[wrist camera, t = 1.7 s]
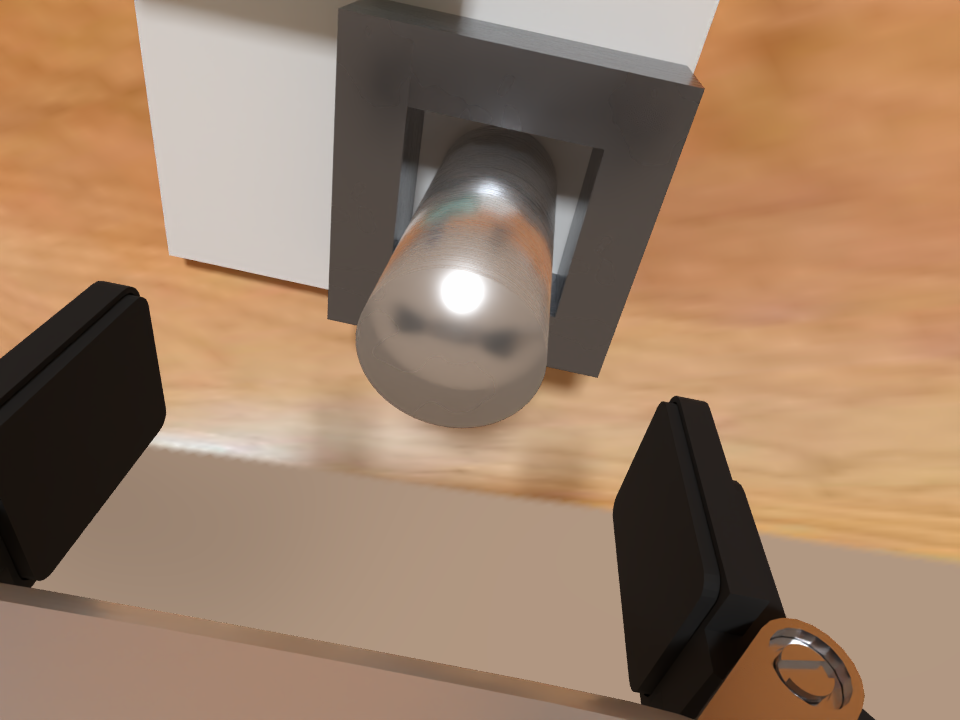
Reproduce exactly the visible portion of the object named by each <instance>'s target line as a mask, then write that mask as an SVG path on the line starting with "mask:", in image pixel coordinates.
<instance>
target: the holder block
mask: <svg viewBox="0 0 960 720" xmlns="http://www.w3.org/2000/svg"><path fill="white" fill-rule="evenodd" d="M704 89H705V88H704V87H703V86H702V85H701V83H700V82H699V81H698V79H697V78H696V77H695V75H694V74H693V73H692V71H691V70H690V69H689V67H688V66H686V65H682V64H677V63H673V62H668V61H663V60H659V59H654V58H650V57H645V56H641V55H636V54H632V53H627V52H622V51H618V50H613V49H609V48H604V47H600V46H595V45H591V44H586V43H582V42H577V41H572V40H568V39H563V38H559V37H554V36H550V35H545V34H541V33H536V32H531V31H527V30H522V29H518V28H513V27H509V26H504V25H500V24H495V23H491V22H486V21H481V20H477V19H472V18H468V17H463V16H459V15H454V14H450V13H445V12H440V11H436V10H431V9H427V8H422V7H418V6H413V5H409V4H404V3H400V2H395V1H390V0H358V1H355V2H353V3H350V4H348V5H345V6H343V7H340V8H338V29H337V58H336V87H335V116H334V145H333V173H332V202H331V231H330V260H329V289H328V318H327V319H330V320H334V321H339V322H343V323H348V324H353V325H357V324H358V321H359V318H360V315H361V313H362V311H363V309H364V307H365V305H366V303H367V301H368V299H369V298H370V296H371V294H372V292H373V290H374V288H375V286H376V285H377V283H378V281H379V279H380V277H381V275H382V273H383V271H384V270H385V268H386V266H387V264H388V262H389V260H390V258H391V256H392V255H393V253H394V251H395V249H396V247H397V245H398V243H399V241H400V240H401V238H402V236H403V234H404V232H405V230H406V228H407V226H408V225H409V223H410V221H411V219H412V215H413V206H414V198H415V189H416V181H417V172H418V164H419V155H420V147H421V139H422V130H423V122H424V113H425V111H429V112H434V113H439V114H443V115H448V116H452V117H457V118H461V119H466V120H471V121H475V122H480V123H484V124H489V125H493V126H498V127H503V128H507V129H512V130H516V131H521V132H525V133H530V134H535V135H539V136H544V137H548V138H553V139H557V140H562V141H566V142H571V143H576V144H580V145H585V146H589V147H593V149H592V153H591V156H590V160H589V164H588V167H587V171H586V174H585V178H584V181H583V185H582V188H581V192H580V195H579V199H578V202H577V206H576V209H575V213H574V216H573V220H572V223H571V227H570V230H569V234H568V237H567V241H566V244H565V248H564V251H563V255H562V258H561V262H560V265H559V269H558V273H557V274H554V273H552V282H551V299H550V316H549V333H548V350H547V366H546V367H551V368H555V369H560V370H565V371H569V372H574V373H578V374H583V375H588V376H592V377H597V378H598V375H599V373H600V370H601V367H602V364H603V362H604V359H605V356H606V354H607V351H608V348H609V346H610V343H611V340H612V338H613V335H614V332H615V329H616V327H617V324H618V321H619V319H620V316H621V313H622V311H623V308H624V305H625V302H626V300H627V297H628V294H629V292H630V289H631V286H632V284H633V281H634V278H635V276H636V273H637V270H638V267H639V265H640V262H641V259H642V257H643V254H644V251H645V249H646V246H647V243H648V240H649V238H650V235H651V232H652V230H653V227H654V224H655V222H656V219H657V216H658V214H659V211H660V208H661V205H662V203H663V200H664V197H665V195H666V192H667V189H668V187H669V184H670V181H671V178H672V176H673V173H674V170H675V168H676V165H677V162H678V160H679V157H680V154H681V151H682V149H683V146H684V143H685V141H686V138H687V135H688V133H689V130H690V127H691V125H692V122H693V119H694V116H695V114H696V111H697V108H698V106H699V103H700V100H701V98H702V95H703V92H704Z"/></svg>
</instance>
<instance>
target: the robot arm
mask: <svg viewBox="0 0 960 720" xmlns="http://www.w3.org/2000/svg"><path fill="white" fill-rule="evenodd" d="M165 417H166V406H165V401H164V395H163V389H162V383H161V377H160V371H159V365H158V359H157V353H156V347H155V341H154V335H153V329H152V323H151V317H150V311H149V305H148V302H147V300H146V299H145V298H143V297H140V295H139V292H138V291H137V289H135V288H133V287H130V286H125V285H120V284H115V283H110V282H105V281H97V282H95V283H94V284H92V285H91V286H90V287H88V288H87V289H86V290H85V291H84V292H82V293H81V294H80V295H79V296H77V297H76V298H75V299H74V300H72V301H71V302H70V303H69V304H67V305H66V306H65V307H64V308H62V309H61V310H60V311H59V312H58V313H56V314H55V315H54V316H53V317H51V318H50V319H49V320H48V321H46V322H45V323H44V324H43V325H41V326H40V327H39V328H38V329H36V330H35V331H34V332H33V333H32V334H30V335H29V336H28V337H27V338H25V339H24V340H23V341H22V342H20V343H19V344H18V345H17V346H15V347H14V348H13V349H12V350H10V351H9V352H8V353H7V354H6V355H4V356H3V357H2V358H1V359H0V720H875V719H874V718H873V717H871V716H870V715H869V714H868V713H867V712H866V711H865V710H863V709H862V707H863V702H864V696H865V695H864V689H863V684H862V680H861V678H860V675H859V673H858V671H857V670H856V667H855V665H854V663H853V662H852V661H851V659H850V658H849V657H848V656H847V654H846V653H845V651H844V650H843V649H842V648H841V647H840V646H839V645H838V644H837V643H836V642H835V641H834V640H832V639H831V638H830V637H829V636H828V635H827V634H825V633H823V632H822V631H820V630H819V629H817V628H816V627H814V626H813V625H810V624H808V623H805V622H802V621H800V620H797V619H789V618H786V616H785V613H784V610H783V607H782V603H781V600H780V598H779V594H778V591H777V588H776V586H775V583H774V579H773V576H772V573H771V570H770V567H769V564H768V561H767V558H766V555H765V552H764V549H763V546H762V543H761V540H760V537H759V534H758V531H757V528H756V525H755V522H754V519H753V516H752V513H751V510H750V507H749V504H748V501H747V498H746V495H745V492H744V490H743V488H742V486H741V485H740V484H739V483H738V482H737V481H734V480H732V477H731V474H730V471H729V467H728V464H727V461H726V458H725V455H724V452H723V449H722V445H721V442H720V439H719V436H718V433H717V430H716V426H715V423H714V420H713V417H712V414H711V411H710V408H709V405H708V403H706V402H704V401H699V400H694V399H689V398H684V397H679V396H674V397H673V398H672V399H671V400H670V402H664V401H663V402H661V403H660V404H659V406H658V407H657V410H656V412H655V414H654V416H653V418H652V420H651V423H650V425H649V427H648V429H647V431H646V433H645V436H644V438H643V440H642V442H641V444H640V446H639V449H638V451H637V453H636V455H635V457H634V459H633V462H632V464H631V466H630V468H629V470H628V472H627V475H626V477H625V479H624V481H623V483H622V485H621V488H620V490H619V492H618V494H617V496H616V499H615V502H614V507H613V522H614V533H615V543H616V553H617V562H618V573H619V583H620V592H621V603H622V612H623V623H624V633H625V643H626V653H627V663H628V672H629V682H630V687H631V689H632V691H633V692H638V693H640V698H641V704H637V703H633V702H630V701H625V700H620V699H615V698H611V697H606V696H601V695H596V694H592V693H587V692H582V691H577V690H573V689H568V688H563V687H558V686H553V685H549V684H544V683H539V682H534V681H529V680H524V679H519V678H513V677H508V676H503V675H498V674H493V673H487V672H482V671H477V670H472V669H466V668H461V667H456V666H451V665H446V664H440V663H435V662H430V661H425V660H420V659H414V658H409V657H404V656H399V655H393V654H388V653H382V652H377V651H372V650H367V649H362V648H356V647H351V646H346V645H340V644H334V643H330V642H324V641H318V640H314V639H308V638H303V637H298V636H292V635H286V634H281V633H276V632H271V631H265V630H259V629H255V628H249V627H244V626H238V625H233V624H227V623H222V622H217V621H211V620H206V619H200V618H195V617H190V616H184V615H178V614H173V613H168V612H162V611H157V610H150V609H145V608H140V607H134V606H129V605H123V604H117V603H112V602H107V601H101V600H95V599H90V598H85V597H79V596H74V595H68V594H63V593H57V592H51V591H46V590H40V589H34V588H31V587H32V586H33V584H34V583H35V582H36V580H38V581H41V580H44V579H45V578H47V577H48V576H49V575H50V574H51V573H52V572H53V570H54V569H55V568H56V566H57V565H58V564H59V563H60V561H61V560H62V559H63V557H64V556H65V555H66V553H67V552H68V551H69V549H70V548H71V547H72V545H73V544H74V543H75V542H76V540H77V539H78V538H79V536H80V535H81V533H82V532H83V531H84V529H85V528H86V527H87V526H88V524H89V523H90V522H91V520H92V519H93V517H94V516H95V515H96V513H98V511H99V510H100V508H101V507H102V506H103V505H104V503H105V502H106V500H107V499H108V498H109V496H110V495H111V494H112V493H113V491H114V490H115V489H116V487H117V486H118V485H119V483H120V482H121V481H122V479H123V478H124V477H125V476H126V474H127V473H128V471H129V470H130V469H131V468H132V466H133V465H134V464H135V462H136V461H137V460H138V458H139V457H140V456H141V455H142V453H143V452H144V450H145V449H146V448H147V447H148V445H149V444H150V443H151V441H152V440H153V439H154V437H155V436H156V435H157V433H158V432H159V431H160V429H161V428H162V426H163V424H164V421H165Z"/></svg>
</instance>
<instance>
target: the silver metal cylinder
mask: <svg viewBox="0 0 960 720" xmlns="http://www.w3.org/2000/svg"><path fill="white" fill-rule="evenodd" d="M556 198H557V175H556V170H555V167H554V164H553V161H552V159H551V157H550V155H549V153H548V152H547V151H546V149H545V148H544V147H543V146H542V144H541V143H540V142H539V141H538V140H536V139H535V138H534V137H533V136H531V135H530V134H528V133H525V132H521V131H516V130H512V129H507V128H503V127H498V126H493V125H487V126H482V127H479V128H476V129H473V130H471V131H469V132H467V133H466V134H464V135H463V136H461V137H460V138H459V139H458V140H457V141H456V142H455V143H454V144H453V145H452V146H451V147H450V149H449V150H448V152H447V153H446V155H445V157H444V159H443V161H442V163H441V165H440V167H439V168H438V170H437V172H436V174H435V176H434V178H433V180H432V182H431V183H430V185H429V187H428V189H427V191H426V193H425V195H424V196H423V198H422V200H421V202H420V204H419V206H418V208H417V210H416V211H415V213H414V215H413V217H412V219H411V221H410V223H409V225H408V226H407V228H406V230H405V232H404V234H403V236H402V238H401V240H400V241H399V243H398V245H397V247H396V249H395V251H394V253H393V255H392V256H391V258H390V260H389V262H388V264H387V266H386V268H385V270H384V271H383V273H382V275H381V277H380V279H379V281H378V283H377V285H376V286H375V288H374V290H373V292H372V294H371V296H370V298H369V299H368V301H367V303H366V305H365V307H364V309H363V311H362V313H361V315H360V318H359V321H358V324H357V330H356V349H357V355H358V358H359V361H360V364H361V367H362V369H363V371H364V373H365V375H366V377H367V378H368V380H369V381H370V383H371V384H372V386H373V387H374V388H375V389H376V390H377V392H378V393H379V394H380V395H381V396H382V397H383V398H384V399H386V400H387V401H388V402H389V403H390V404H392V405H393V406H394V407H396V408H397V409H399V410H401V411H402V412H404V413H406V414H408V415H410V416H412V417H414V418H416V419H419V420H421V421H424V422H427V423H431V424H434V425H439V426H445V427H453V428H472V427H479V426H485V425H489V424H493V423H496V422H498V421H501V420H504V419H506V418H507V417H509V416H511V415H513V414H515V413H516V412H517V411H519V410H520V409H522V408H523V407H524V406H525V405H526V404H527V403H528V402H529V401H530V400H531V399H532V398H533V396H534V395H535V394H536V392H537V391H538V389H539V387H540V385H541V383H542V380H543V378H544V375H545V371H546V366H547V350H548V333H549V316H550V299H551V282H552V266H553V249H554V232H555V215H556Z"/></svg>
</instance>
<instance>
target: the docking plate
mask: <svg viewBox="0 0 960 720" xmlns="http://www.w3.org/2000/svg"><path fill="white" fill-rule="evenodd" d="M355 1H358V0H134V3H135V10H136V17H137V25H138V32H139V39H140V46H141V54H142V61H143V68H144V76H145V83H146V90H147V97H148V105H149V112H150V119H151V126H152V134H153V141H154V148H155V156H156V163H157V170H158V177H159V185H160V192H161V199H162V206H163V214H164V221H165V228H166V236H167V243H168V250H169V255H172V256H176V257H181V258H186V259H190V260H195V261H199V262H204V263H209V264H213V265H218V266H222V267H227V268H232V269H236V270H241V271H245V272H250V273H255V274H259V275H264V276H268V277H273V278H278V279H282V280H287V281H291V282H296V283H301V284H305V285H310V286H314V287H319V288H324V289H329V260H330V231H331V202H332V173H333V145H334V116H335V87H336V58H337V29H338V8H340V7H343V6H345V5H348V4H350V3H353V2H355ZM390 1H395V2H400V3H404V4H409V5H413V6H418V7H422V8H427V9H431V10H436V11H440V12H445V13H450V14H454V15H459V16H463V17H468V18H472V19H477V20H481V21H486V22H491V23H495V24H500V25H504V26H509V27H513V28H518V29H522V30H527V31H531V32H536V33H541V34H545V35H550V36H554V37H559V38H563V39H568V40H572V41H577V42H582V43H586V44H591V45H595V46H600V47H604V48H609V49H613V50H618V51H622V52H627V53H632V54H636V55H641V56H645V57H650V58H654V59H659V60H663V61H668V62H673V63H677V64H682V65H686V66H688V67H689V69H690V70H691V71H692V73H694V70H695V68H696V65H697V62H698V59H699V56H700V54H701V51H702V48H703V45H704V42H705V40H706V37H707V34H708V31H709V28H710V25H711V23H712V20H713V17H714V14H715V11H716V9H717V6H718V3H719V0H390ZM487 125H489V124H484V123H480V122H475V121H471V120H466V119H461V118H457V117H452V116H448V115H443V114H439V113H434V112H429V111H425V113H424V122H423V130H422V139H421V147H420V155H419V164H418V172H417V181H416V189H415V198H414V206H413V215H414V213H415V211H416V210H417V208H418V206H419V204H420V202H421V200H422V198H423V196H424V195H425V193H426V191H427V189H428V187H429V185H430V183H431V182H432V180H433V178H434V176H435V174H436V172H437V170H438V168H439V167H440V165H441V163H442V161H443V159H444V157H445V155H446V153H447V152H448V150H449V149H450V147H451V146H452V145H453V144H454V143H455V142H456V141H457V140H458V139H459V138H460V137H461V136H463V135H464V134H466V133H467V132H469V131H471V130H473V129H476V128H479V127H482V126H487ZM528 134H530V133H528ZM530 135H531V136H533V137H534V138H535V139H536V140H538V141H539V142H540V143H541V144H542V146H543V147H544V148H545V149H546V151H547V152H548V153H549V155H550V157H551V159H552V161H553V164H554V167H555V170H556V175H557V198H556V215H555V232H554V249H553V266H552V273H554V274H557V273H558V269H559V265H560V262H561V258H562V255H563V251H564V248H565V244H566V241H567V237H568V234H569V230H570V227H571V223H572V220H573V216H574V213H575V209H576V206H577V202H578V199H579V195H580V192H581V188H582V185H583V181H584V178H585V174H586V171H587V167H588V164H589V160H590V156H591V153H592V149H593V147H589V146H585V145H580V144H576V143H571V142H566V141H562V140H557V139H553V138H548V137H544V136H539V135H535V134H530ZM413 215H412V217H413Z"/></svg>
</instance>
